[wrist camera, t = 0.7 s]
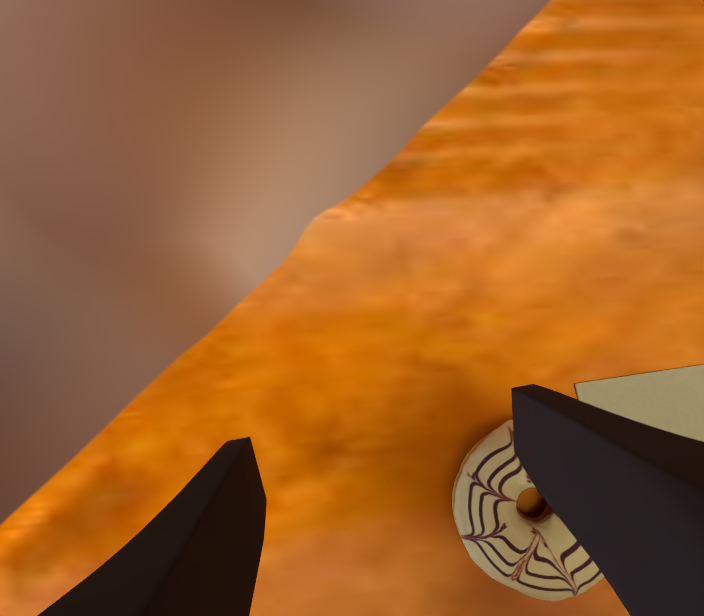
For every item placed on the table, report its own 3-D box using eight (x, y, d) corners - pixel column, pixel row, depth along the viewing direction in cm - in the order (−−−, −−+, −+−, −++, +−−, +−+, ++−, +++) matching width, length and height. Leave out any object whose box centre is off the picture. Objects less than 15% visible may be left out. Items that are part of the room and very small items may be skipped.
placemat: (843, 565, 25) (847, 567, 25) (621, 589, 26) (623, 591, 26) (779, 352, 27) (782, 352, 27) (574, 383, 28) (575, 383, 28)
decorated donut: (627, 455, 27) (664, 473, 23) (569, 601, 26) (598, 643, 23) (484, 392, 28) (498, 399, 25) (427, 529, 28) (432, 557, 24)
